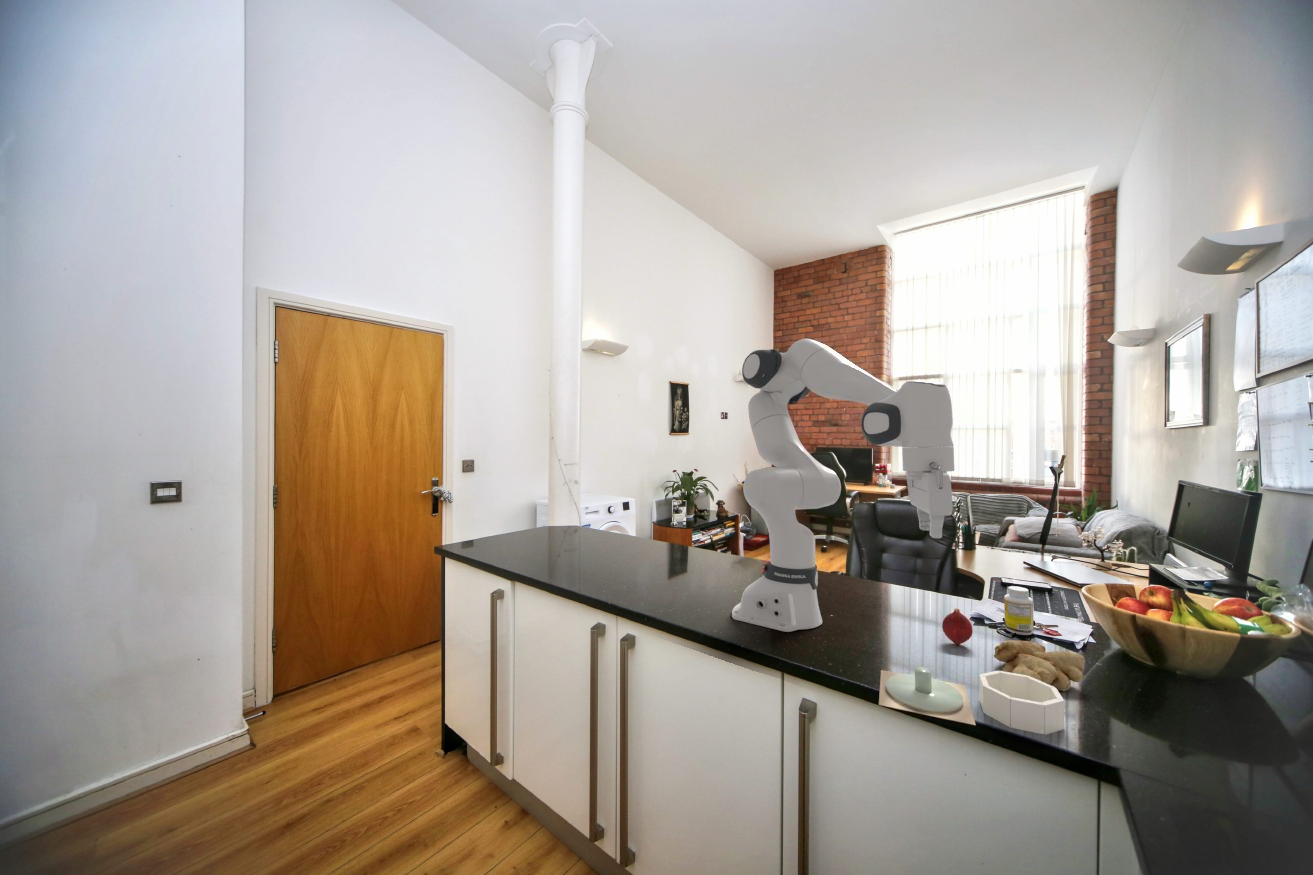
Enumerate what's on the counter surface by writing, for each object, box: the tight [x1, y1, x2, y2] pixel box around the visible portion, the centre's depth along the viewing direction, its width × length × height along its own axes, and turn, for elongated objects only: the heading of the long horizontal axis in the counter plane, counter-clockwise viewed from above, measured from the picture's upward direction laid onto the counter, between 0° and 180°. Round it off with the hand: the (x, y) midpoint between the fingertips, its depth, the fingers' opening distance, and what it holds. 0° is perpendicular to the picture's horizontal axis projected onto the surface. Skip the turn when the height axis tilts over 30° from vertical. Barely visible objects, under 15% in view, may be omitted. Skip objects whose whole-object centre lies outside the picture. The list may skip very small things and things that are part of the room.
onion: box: [941, 607, 973, 646], centre depth 110 cm, size 6×6×8 cm
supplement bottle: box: [1003, 585, 1034, 636], centre depth 117 cm, size 6×6×10 cm
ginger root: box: [993, 639, 1086, 692], centre depth 94 cm, size 16×16×8 cm
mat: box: [878, 669, 977, 726], centre depth 87 cm, size 14×14×1 cm
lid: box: [886, 666, 963, 713], centre depth 87 cm, size 12×12×4 cm
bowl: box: [979, 670, 1065, 735], centre depth 81 cm, size 11×11×5 cm
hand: (930, 533), depth 95 cm, fingers open, 8 cm apart
